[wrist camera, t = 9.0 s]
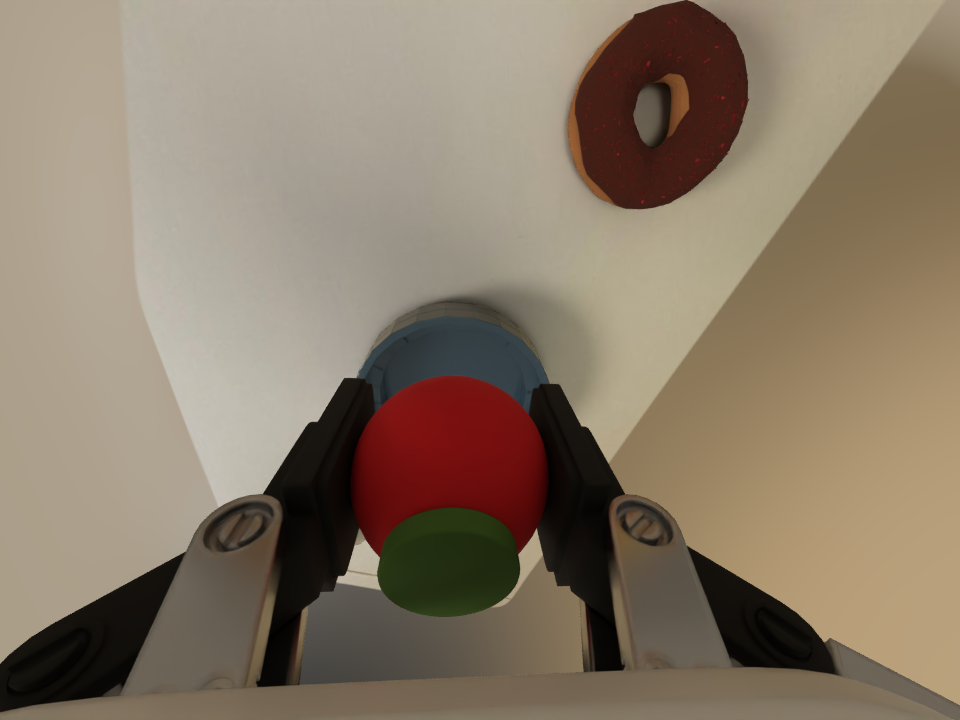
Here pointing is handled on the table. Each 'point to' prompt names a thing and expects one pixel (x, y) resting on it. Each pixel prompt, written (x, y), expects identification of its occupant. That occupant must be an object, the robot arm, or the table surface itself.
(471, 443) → the tomato
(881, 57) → the table surface
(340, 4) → the table surface
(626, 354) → the table surface
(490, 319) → the bowl
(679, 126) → the donut
